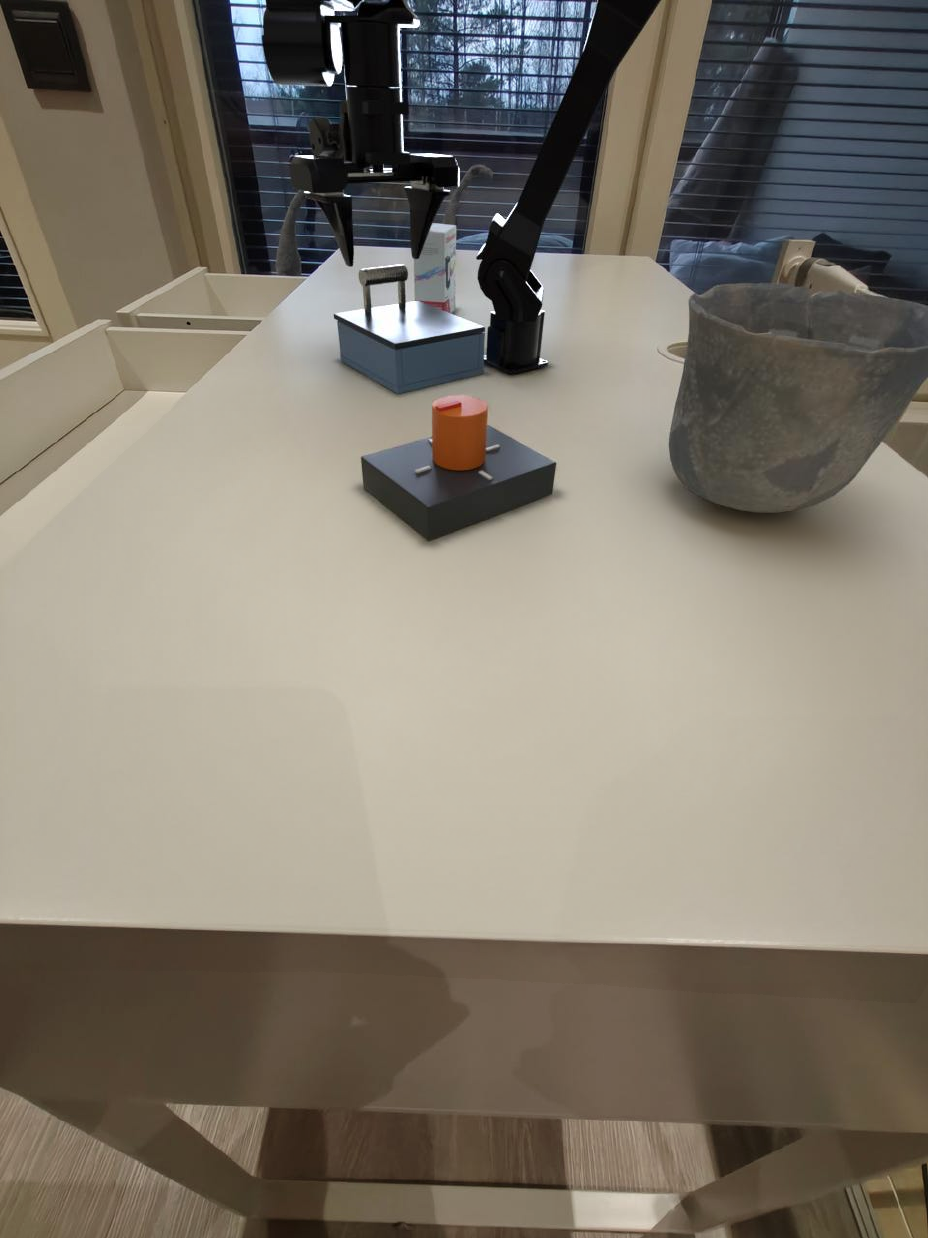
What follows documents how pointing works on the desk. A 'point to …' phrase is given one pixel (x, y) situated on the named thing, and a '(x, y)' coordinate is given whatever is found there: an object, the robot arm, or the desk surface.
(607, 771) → the desk surface
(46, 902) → the desk surface
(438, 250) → the ink box
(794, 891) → the desk surface
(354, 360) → the blue open box
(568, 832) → the desk surface
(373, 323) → the lid
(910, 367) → the grey stone pot
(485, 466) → the control panel
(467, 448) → the dial
